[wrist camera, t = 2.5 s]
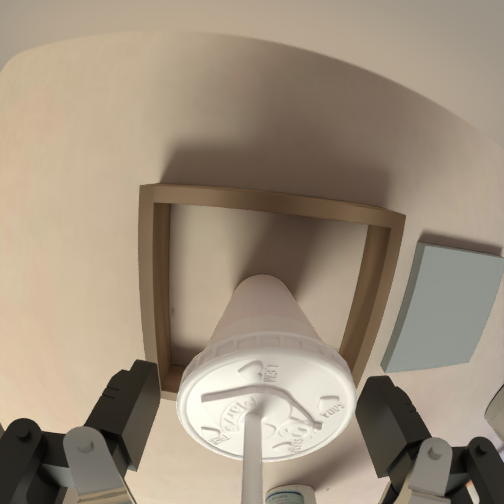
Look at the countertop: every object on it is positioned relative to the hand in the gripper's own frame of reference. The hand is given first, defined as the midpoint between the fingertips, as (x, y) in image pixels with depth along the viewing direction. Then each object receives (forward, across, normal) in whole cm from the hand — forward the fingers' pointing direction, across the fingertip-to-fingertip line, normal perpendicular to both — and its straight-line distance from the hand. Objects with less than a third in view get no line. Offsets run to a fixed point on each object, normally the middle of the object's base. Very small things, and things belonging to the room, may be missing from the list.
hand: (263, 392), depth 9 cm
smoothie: (+9, 0, 0) cm, 9 cm away
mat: (+8, -15, 0) cm, 17 cm away
